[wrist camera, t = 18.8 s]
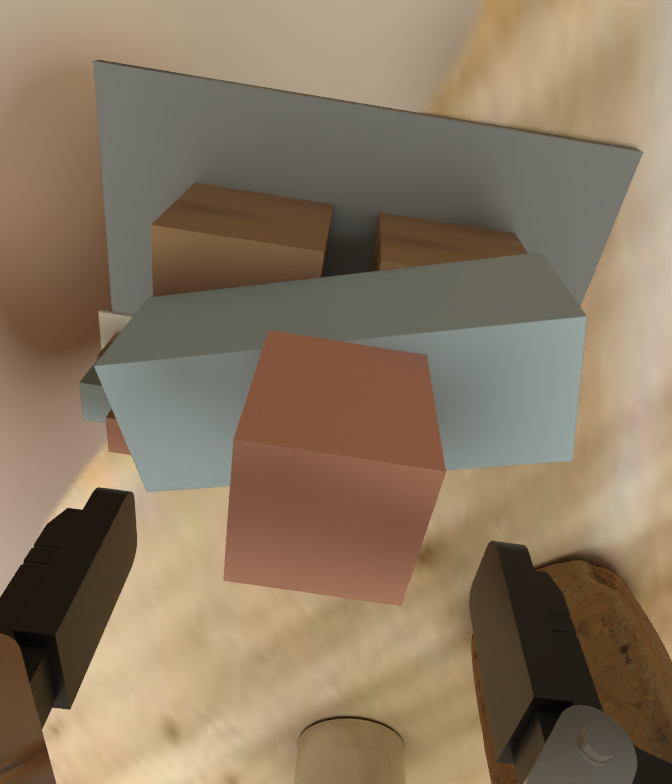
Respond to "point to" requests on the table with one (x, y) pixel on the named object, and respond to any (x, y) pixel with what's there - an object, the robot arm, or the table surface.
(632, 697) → the block
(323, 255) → the base cube
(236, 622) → the table surface
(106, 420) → the model
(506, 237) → the base cube
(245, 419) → the terracotta cube
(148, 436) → the lintel
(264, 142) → the grey flat sheet
